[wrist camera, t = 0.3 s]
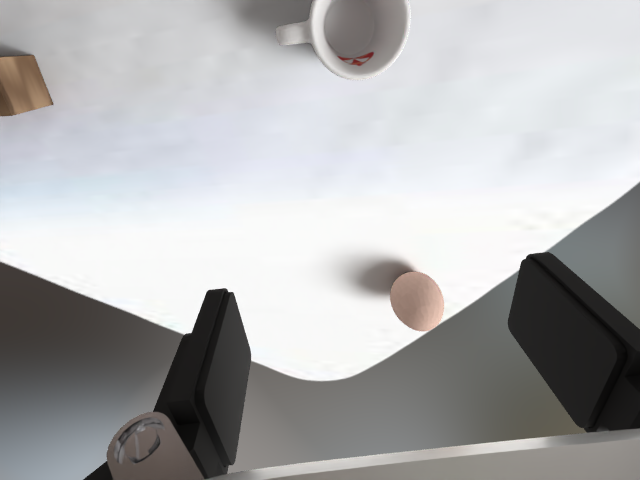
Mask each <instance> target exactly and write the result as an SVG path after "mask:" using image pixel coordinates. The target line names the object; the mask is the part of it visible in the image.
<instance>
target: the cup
mask: <svg viewBox="0 0 640 480" xmlns="http://www.w3.org/2000/svg"><path fill="white" fill-rule="evenodd" d="M410 22H411V11H410V4H409V0H313V1H312V5H311V9H310V14H309V19H308V20H307V21H304V22H299V23H292V24H287V25H282V26H278V27H277V28H276V39H277V42H278V44H279V45H291V44H300V43H310V44H312V45H313V48H314V50H315V53H316V55H317V56H318V58H319V60H320V61H321V62H322V63H323V65H324V66H325V67H326V68H327V69H328V70H330V71H331V72H332V73H334V74H336V75H337V76H339V77H342V78H345V79H349V80H365V79H369V78H372V77H375V76H377V75H379V74H381V73H382V72H384V71H385V70H386V69H388V68H389V67H390V66H391V65H392V64H393V63H394V62H395V60H396V59H397V58H398V56H399V55H400V53H401V52H402V50H403V48H404V46H405V43H406V41H407V38H408V34H409V30H410Z"/></svg>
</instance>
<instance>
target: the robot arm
mask: <svg viewBox="0 0 640 480" xmlns="http://www.w3.org/2000/svg"><path fill="white" fill-rule="evenodd" d="M508 327H509V330H510V332H511V334H512V335H513V336H514V338H515V339H516V341H517V342H518V343H519V345H520V346H521V348H522V349H523V350H524V352H525V353H526V355H527V356H528V357H529V359H530V360H531V362H532V363H533V365H534V366H535V367H536V369H537V370H538V372H539V373H540V374H541V376H542V377H543V379H544V380H545V381H546V383H547V384H548V386H549V387H550V388H551V390H552V391H553V393H554V394H555V396H556V397H557V398H558V400H559V401H560V402H561V404H562V405H563V407H564V408H565V410H566V411H567V412H568V414H569V415H570V417H571V418H572V419H573V421H574V422H575V423H576V425H578V426H579V427H581V428H584V429H585V431H586V432H587V433H581V434H571V435H561V436H551V437H541V438H531V439H522V440H511V441H502V442H492V443H483V444H473V445H463V446H454V447H444V448H436V449H425V450H416V451H407V452H397V453H388V454H379V455H370V456H361V457H353V458H343V459H335V460H325V461H316V462H307V463H300V464H292V465H285V466H278V467H269V468H262V469H253V470H248V471H242V472H236V473H231V474H227V471H228V466H229V465H233V464H234V462H235V458H236V452H237V446H238V440H239V433H240V426H241V420H242V413H243V407H244V401H245V394H246V388H247V381H248V375H249V369H250V363H251V351H250V347H249V344H248V340H247V337H246V333H245V330H244V326H243V323H242V320H241V316H240V313H239V309H238V306H237V303H236V299H235V296H234V293H233V292H228V290H227V289H226V288H224V289H215V290H208V291H207V293H206V296H205V298H204V301H203V304H202V306H201V309H200V312H199V314H198V317H197V320H196V323H195V325H194V328H193V331H192V333H189V334H185V335H184V336H183V338H182V340H181V342H180V345H179V347H178V350H177V352H176V355H175V357H174V360H173V362H172V365H171V368H170V370H169V373H168V375H167V378H166V380H165V383H164V385H163V388H162V390H161V393H160V395H159V398H158V400H157V403H156V405H155V408H154V411H153V412H148V413H144V414H141V415H139V416H137V417H135V418H133V419H131V420H130V421H129V422H127V423H126V424H125V425H124V426H123V427H121V428H120V430H119V431H118V432H117V433H116V434H115V435H114V437H113V439H112V441H111V442H110V444H109V447H108V451H107V461H106V462H105V463H104V464H103V465H101V466H100V467H99V468H97V469H96V470H95V471H94V472H93V473H91V474H90V475H89V476H87V477H86V478H85V479H84V480H640V329H639V328H637V327H636V326H635V325H634V324H633V323H632V322H630V321H629V320H628V319H627V318H626V317H625V316H623V315H622V314H621V313H620V312H619V311H617V310H616V309H615V308H614V307H613V306H612V305H611V304H610V303H608V302H607V301H606V300H605V299H604V298H603V297H601V296H600V295H599V294H598V293H597V292H596V291H594V290H593V289H592V288H591V287H590V286H589V285H588V284H586V283H585V282H584V281H583V280H582V279H581V278H579V277H578V276H577V275H576V274H575V273H574V272H573V271H571V270H570V269H569V268H568V267H567V266H566V265H564V264H563V263H562V262H561V261H560V260H559V259H557V258H556V257H555V256H554V255H553V254H551V253H549V252H544V253H535V254H529V255H528V256H527V257H526V259H524V260H523V261H522V262H521V266H520V270H519V275H518V279H517V283H516V288H515V292H514V296H513V301H512V305H511V310H510V314H509V318H508Z"/></svg>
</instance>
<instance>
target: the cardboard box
mask: <svg viewBox="0 0 640 480" xmlns="http://www.w3.org/2000/svg"><path fill="white" fill-rule="evenodd" d="M49 105H53V102H52V99H51V97H50V94H49V92H48V89H47V87H46V84H45V82H44V79H43V77H42V74H41V72H40V69H39V67H38V64H37V62H36V59H35V57H34V55H28V56H5V57H0V116H12V115H16V114H20V113H24V112H27V111H31V110H35V109H38V108H42V107H46V106H49Z"/></svg>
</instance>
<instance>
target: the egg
mask: <svg viewBox="0 0 640 480" xmlns="http://www.w3.org/2000/svg"><path fill="white" fill-rule="evenodd" d="M390 301H391V305H392V308H393V310H394V312H395V314H396V315H397V317H398V318H399V319H400V320H401V321H402V322H403V323H404V324H405V325H407V326H408V327H410V328H412V329H414V330H417V331H428V330H431V329H433V328H434V327H436V326H437V325H438V324H439V322H440V321H441V318H442V315H443V311H444V300H443V296H442V293H441V290H440V289H439V287H438V285H437V284H436V283H435V281H434V280H433V279H432V278H430V277H429V276H427V275H426V274H423V273H420V272H407V273H405V274H402V275H401V276H399V277H398V278H397V279H396V280H395V282H394V283H393V285H392V288H391V292H390Z"/></svg>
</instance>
